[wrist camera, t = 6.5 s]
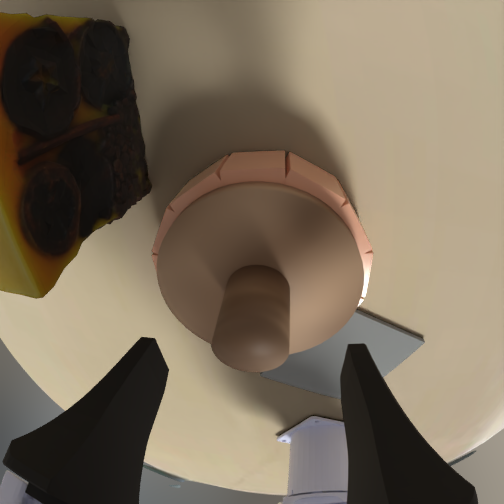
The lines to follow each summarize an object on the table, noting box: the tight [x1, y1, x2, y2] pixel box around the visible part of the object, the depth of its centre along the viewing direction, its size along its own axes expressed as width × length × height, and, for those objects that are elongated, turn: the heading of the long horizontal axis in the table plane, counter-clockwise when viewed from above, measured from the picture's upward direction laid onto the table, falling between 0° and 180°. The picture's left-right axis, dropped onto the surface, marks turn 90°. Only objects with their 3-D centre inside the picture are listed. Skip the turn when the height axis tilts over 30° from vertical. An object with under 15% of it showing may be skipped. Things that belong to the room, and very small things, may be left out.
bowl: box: [152, 150, 373, 306], centre depth 16 cm, size 11×11×3 cm
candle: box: [0, 13, 152, 299], centre depth 10 cm, size 10×10×10 cm
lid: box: [157, 181, 364, 372], centre depth 13 cm, size 10×10×5 cm
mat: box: [260, 309, 425, 399], centre depth 22 cm, size 10×10×1 cm
